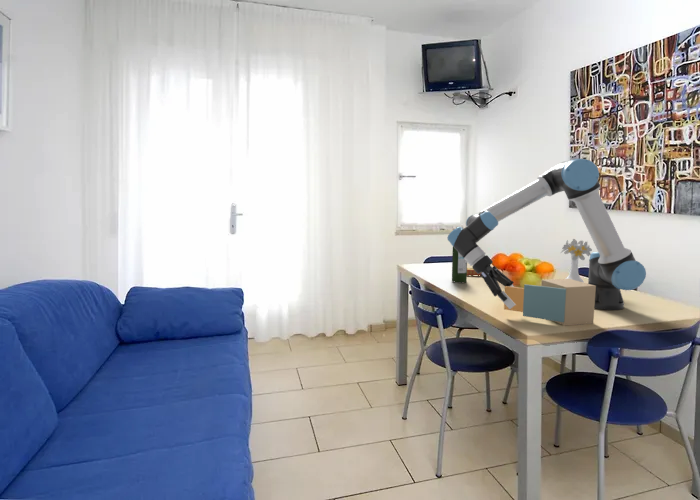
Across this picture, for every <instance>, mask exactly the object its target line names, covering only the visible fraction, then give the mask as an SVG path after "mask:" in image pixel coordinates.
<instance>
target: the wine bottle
mask: <svg viewBox="0 0 700 500" xmlns="http://www.w3.org/2000/svg"><path fill="white" fill-rule="evenodd" d="M461 227H462V228H463V229H464V227H463V226H461ZM451 256H452V259H451V282H452V281H455V282H465V283H467V281H468V280H467V279H468V278H467V277H468V276H467V268H468V263H466V260H465V259H464V258H463V257H462V256H461V255H460V254H459V252H458V251H457V250H456V249H455V248H454V247H453V246H452V253H451ZM455 282H454V283H455Z"/></svg>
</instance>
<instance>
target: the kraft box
mask: <svg viewBox="0 0 700 500" xmlns="http://www.w3.org/2000/svg"><path fill="white" fill-rule="evenodd" d="M540 286H544V287H553V288H562V289H566V300H565V317H564V322H559V321H554V322H555V323H557V324H560V325H562V326H573V325H575V326H576V325H591V324H594V319H595V318H594V317H595V308H594V306H595V291H596V286H595V285H591V284H588V283H587V282H584V283H583V282H580V281H576V280H572V279H565V278H555V279H554V278H553V279H552V278H551V279H541V284H540Z"/></svg>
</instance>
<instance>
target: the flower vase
mask: <svg viewBox="0 0 700 500" xmlns="http://www.w3.org/2000/svg"><path fill="white" fill-rule="evenodd" d="M588 243H589V242H588V241H585V242H584V240H582V239H581V240H579V241H577V240H576V239H575V238H572V241H571V242H570V243H569V240H568V239H567V240H566V243H565V244H563V246H562V249H561V252H560V254H562V253H563V252H564V253H563V255H568V254H570V256H571V257H570V258H571V260H570V262H571V263H570V271H569V273H568V276H567V277H565V278H564V279H572V280H576V281H580V282H583V283H585V281H584V280H583V278H581V276H580V275H579V259H580V260H582V261H585V259H586V257H585V256H584V255H586V256H588V257H590V255H591V252H592V251H593V249H592V248H591V247H590V244H588Z"/></svg>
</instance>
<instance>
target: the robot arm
mask: <svg viewBox="0 0 700 500" xmlns="http://www.w3.org/2000/svg"><path fill="white" fill-rule="evenodd" d="M599 178H600V171H599V168H598V166H597V165H596V164H595V163H594V162H593V161H591V160H589V159H587V158H573V159H570V160H565V161H562V162H559V163H558V164H556V165H554V166H553V167H551V168H550V169H548V170H546V171H545V172H544V173H542V174H541V175H539V176H537V179H536V180H535V181H533V182H531V183H529V184H527V185H526V186H523V187H522V188H520V189H519V190H516V191H514V192H513V193H512V194H510V195H507V196H506V197H504V198H502V199H500V200H499V201H497V202H494V203H493V204H491V205H489V206H488V207H486V208H484V209H482V210H481V211H479V212H477V213H475V214H471V215H470V216H468V217H467V219H466V221H465V227H463V226H457V227H456V228H454V229H453V230H451V232H450V233H449V234H448V235H447V241H448V242H449V243H450V245H451V246H452V248H453V247H454V248H455V249H456V250H457V251H458V252H459V254H460V255H461V256H462V257H463V258H464V259H465V260H466V263H467V264H469V266H470V267H471V268H473V269H474V270H475V272H476V273H477V274H479V273H481V272H482V273H481V274H480V276H481V278H482V279H483V281H484V282H485V284H486V286H487V287H488V288H489V291H490V292H491V294H492V295H493V296H494V297H498V298H499V299H500V301H501V302H503V304H505V305H506V306H507V307H508V308H509V309H511V308H512V307H513V306H515V305H516V304H515V303H514V302H513V301H512V300H511V299H510V298H509V296H508V295H507V294H506V293H505V290H503V291H502V288H501V287H500V284H501V285H502V286H504V287H505V286H509V287H515V286H514V281H513V280H512V279H510V278H509V277H508V276H507V275H506V274H504V273H503V272H501V270H499V269H498V267H496V265H493V266H491V265H492V264H493V259H491V258H490V256H488V255H486V252H485V251H484V250H483V249H482V247H480V246H479V245H478V244H477V243H479V241H481V240H482V239H483V238H485V237H486V236H487V235H488V234H489V233H491V232H492V231H493V230H495V228H496V227H498V225H499V222H500V221H502V220H504V219H506V218H508V217H509V216H511V215H514V214H515V213H517V212H519V211H520V210H523V209H524V208H527V207H528V206H530V205H532V204H534V203H536V202H537V201H539V200H541V199H543V198H545V197H552V196H553V195H555V194H559V193H562V192H564V193H565V195H566V197H567V199H568V200H569V201H571V202H573V203H574V204H575V206H576V208H577V210H578V212H579V214H580V216H581V218H582V221H583V224H584V225H585V228H586V229H587V232H588V233H589V235H590V238H591V240H592V242H593V244H594V246H595V248H596V250H597V251H593V252H590V254H591V255H589V259H588V263H589V266H588V279H587V280H588V281H587V282H588V283H587V284H591V285H595V286H596V291H595V306H594V309H597V310H603V311H604V310H606V311H607V310H608V311H620V310H623V309H624V307H625V302H624V298H623V294H622V292H621V290H624V291H633V290H635V289H637V288H639V287H641V286H642V284H644V281H645V279H646V277H647V271H646V270H647V269H646V267H645V266H644V265H643V264H642V263H641V262H639V261H638V260H636V258H635V256H634V254H633V252H632V250H631V249H629V248H626V247H625V246H624V244H623V242H622V240H621V238H620V235H619V233H618V231H617V229H616V227H615V225H614V223H613V221H612V219H611V217H610V215H609V212H608V210H607V208H606V205H605V204H604V202H603V200H602V197H601V195H600V193H599V191H600V188H601V184H600V182H599ZM462 227H463V228H462ZM499 283H500V284H499Z"/></svg>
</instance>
